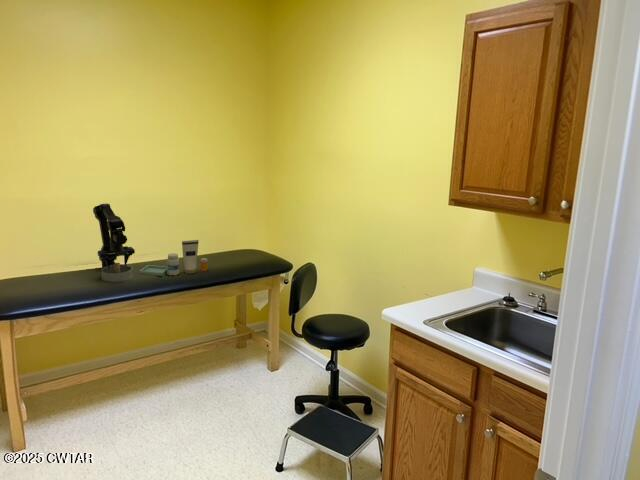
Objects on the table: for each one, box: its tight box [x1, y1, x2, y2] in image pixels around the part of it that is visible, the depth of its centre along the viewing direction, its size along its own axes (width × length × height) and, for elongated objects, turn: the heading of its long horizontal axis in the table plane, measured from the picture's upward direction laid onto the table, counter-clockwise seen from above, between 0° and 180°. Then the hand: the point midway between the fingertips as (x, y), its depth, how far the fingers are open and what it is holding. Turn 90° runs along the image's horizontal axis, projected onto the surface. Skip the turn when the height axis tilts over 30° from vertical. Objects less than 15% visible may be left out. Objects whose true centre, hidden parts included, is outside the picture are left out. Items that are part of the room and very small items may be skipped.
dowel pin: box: [114, 262, 121, 273], centre depth 259 cm, size 3×3×8 cm
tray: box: [138, 264, 167, 277], centre depth 272 cm, size 14×12×2 cm
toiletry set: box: [166, 239, 209, 276], centre depth 275 cm, size 25×8×21 cm, turn 121°
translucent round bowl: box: [100, 263, 134, 283], centre depth 259 cm, size 17×17×6 cm
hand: (117, 266), depth 258 cm, fingers open, 9 cm apart
